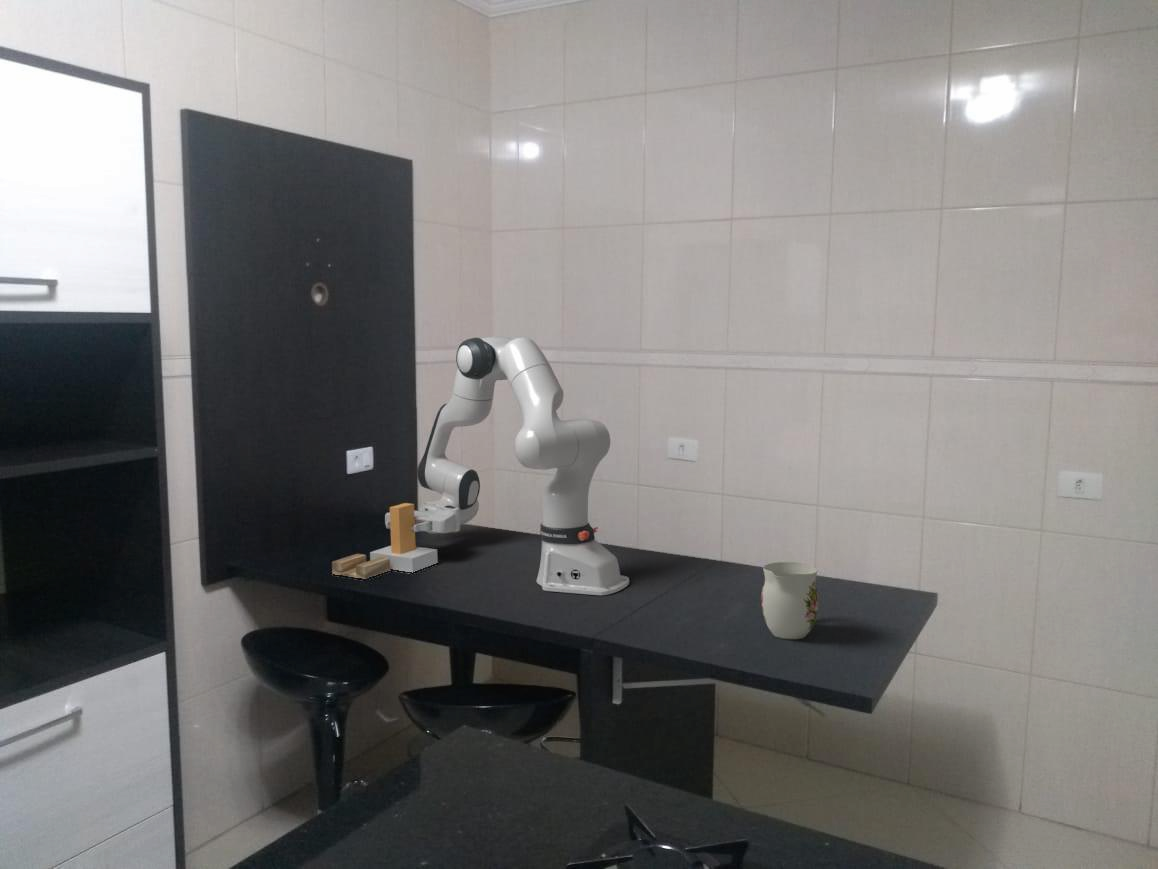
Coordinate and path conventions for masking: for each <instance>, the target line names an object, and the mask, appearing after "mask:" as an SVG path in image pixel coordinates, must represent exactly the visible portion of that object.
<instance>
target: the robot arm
mask: <svg viewBox="0 0 1158 869" xmlns="http://www.w3.org/2000/svg"><path fill="white" fill-rule="evenodd" d="M455 359H456V365H457V366H456V367H457V370H456V372H455V376H454V379H453V380H454V381H453V383H452V388H451V390H452V391H451V395H450V397H449V400H448V402H447V403H443V405H441V407H439V410H438V411H437V414H436V417H435V419H434V422H433V425H432V428H431V431H430V435H429V438H428V440H427V444H426V447H425V451H424V453H423V456H422V458H421V460H420V461H419V463H418V467H417V468H416V476H417V480H418V482H419V484H420V486H421V487H422V488H425V489H427V490H431V491H434V492H436V493H439V494H441V495H442V496H441V497H440V498H437V499H434V500H433V499H432V500H430V501H426V502H424V503H423V504H422V505H420V507H419V509H418V510H415V509H414V517H415V524H413V525H411V531H413V532H415V533H418V532H426V533H428V534H430V535H431V534H432V535H436V534H448V533H457V532H460V531H461V530H460V529H461V525H464V524H465V525H466V524H467V523H468V522H470V521H471V520H473V519H474V518H475V517H476V515H477V514H478V512H479V508H480V507H479V506H480V505H479V500H478V498H479V495H480V492H481V491H480V490H481V483H480V478H479V477H480V476H479V475H478V473H477V471H476V470H474V469H473V468H470V467H469V466H466V465H463V464H461V463H459V462H456V461H454V460H451V459H450V458H449V459H448V457H447V455H446V449H447V446H448V443H449V440H450V437H451V434H452V431H453V430H454V428H458V427H459V428H461V427H471V426H474V425H478V424H480V423H482V422H484V420H486V419H487V417H488V416H489V415H490V413H491V410H492V406H493V399H494V393H495V392H494V391H495V386H496V382H497V381H505V380H507V381H508V383H509V386H510V388H511V391H512V392H513V394H514V396H515V399H516V401H517V404H518V406H519V408H520V410H521V414H522V426H521V428H520V430H519V431H518V433H517V434H516V437H515V440H514V446H513V447H514V448H513V449H514V453H515V457H516V459H517V461H518V462H519V463H520V464H521V465H522V467H524V468H526V469H530V470H531V469H533V470H541V471H542V470H543V471H545V470H552V469H557V470H556V472H555V475H554V477H553V478H552V480H551V482H549V483H548V484H547V485H546V486H545V487H544V488H543V490H542V493H541V523H540V526H539V527H540V528H539V529H540V531H539V532H540V533H539V534H540V544H541V554H540V555H541V556H540V561H539V569H538V574H537V578H536V583H537V584H538V585H540V586H541V587H542V588H541V589H542V591H544V592H555V593H556V592H557V593H567V594H580V595H592V596H607V595H611V594H614V593H618V592H619V591H621V590H623V589H625V588H626V587H628V586H629V585H630V579H629V576H625V575H621V570H620V566H619V562H618V559H617V556H615V555H614V554H613V553H612V552H610V551H609V550H608V549H607V548H606V547H604V545H602V544H601V543H600V542H598V541H597V539H596V536H595V533H597V532H598V526H597V527H592V525H591V524H590V522H589V517H588V516H589V492H590V488H591V482H592V479H593V476H594V473H595V472H596V470H597V467H598V466H599V464H600V462H601V461H602V460H603V459H604V458H605V456H607V455H608V453H609V451H610V448H611V436H610V435H611V434H610V432H609V430H608V428H607V426H606V425H605V424H604V423H603V422H602V421H599V420H594V419H593V420H592V419H589V418H588V419H587V418H579V419H567V420H561V419H560V417H559V416H558V413H557V410H559V408H560V407H561V405H562V403H563V401H564V395H565V394H564V390H563V389H562V388H563V387H562V386H561V384H560V382H559V380H558V378H557V376H556V374H555V372H554V370H553V368H552V366H551V364H550V362H549V361H548V359H547V357H546V355H544V352H543V351H542V350H541V349H540V347H539V346H538V345H537V344H536V342H535V341H534V340H533V339H531V338H530V337H526V336H525V337H524V336H523V337H522V336H521V337H515V338H511V337H500V336H486V337H472V338H468V339H465V340H463V341H462V342H461V343H460V344H459V345H458V349H457V351H456V356H455ZM384 524H385V528H386V529H389V530H391V529H390V511H389V512H386V513H385V515H384Z"/></svg>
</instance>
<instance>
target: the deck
mask: <svg viewBox="0 0 1158 869" xmlns="http://www.w3.org/2000/svg"><path fill="white" fill-rule="evenodd" d="M379 557H383V558H390V569H393V570H399V571H405V572H412V573H413V572H415V571H418V570H420V569H423V568H425V567H428V566H431V565H433V564H436V563H439V562H438V561H439V560H438V549H437V548H436V549H435V548H429V547H421V546H416V549H414V550H411V551H408V552H406V553H403V554H395V553H392V552H391V545H388V546H385V547H383V548H379V549H375V550H373V551H370V552H369V558H370V559H369V561H371V560H374V559H377V558H379Z"/></svg>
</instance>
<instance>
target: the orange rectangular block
mask: <svg viewBox="0 0 1158 869" xmlns="http://www.w3.org/2000/svg"><path fill="white" fill-rule="evenodd" d="M414 510H415V504H414V503H408V502H404V503H400V504H397V505H393V506H390V507H389V512H390V529H389V530H390V546H391V552H392V553H395V554H403V553H406V552H408V551H411V550H414V549H416V547H417V544H416V532H413V531H411V525H413V524H415V517H414Z"/></svg>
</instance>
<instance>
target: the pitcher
mask: <svg viewBox="0 0 1158 869" xmlns="http://www.w3.org/2000/svg"><path fill="white" fill-rule="evenodd" d="M762 569H763V575H764V583H763V586H762V588H761V595H760V596H761V597H760V600H761V601H760V602H761V609H762V610H761V611H762V615H763V618H764V621H765V624H766V625H767V627H768V630H769V631H770V632H771V634H772V635H773V636H775V637H777V638H779V639H784V640H801V639H804V638H805V637H807V635H808V634H809V633H810V632H811V631H812V628H813V627H814V624H815V622H816V620H817V616H818V612H819V598H820V597H819V592H818V591H819V590H818V589H817V585H816V580H817V574H818V569H817V568H816V567H815V566H814V565H813V566H812V565H810V564H807V563H803V562H802V563H800V562H795V561H794V562H792V561H779V562H771V563H768V564H765V565H764V566H763V567H762Z"/></svg>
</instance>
